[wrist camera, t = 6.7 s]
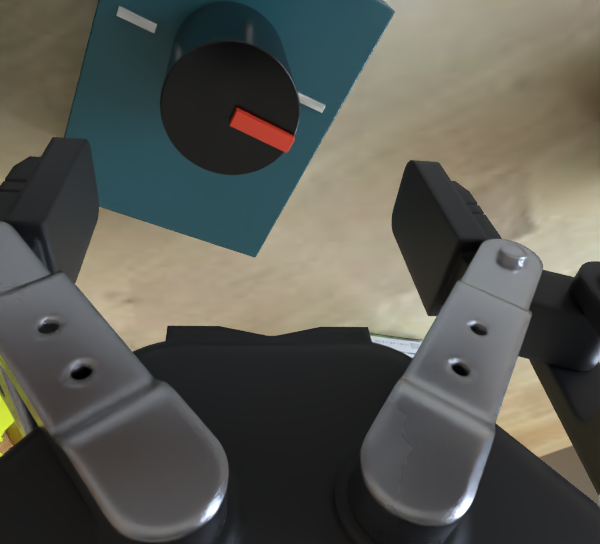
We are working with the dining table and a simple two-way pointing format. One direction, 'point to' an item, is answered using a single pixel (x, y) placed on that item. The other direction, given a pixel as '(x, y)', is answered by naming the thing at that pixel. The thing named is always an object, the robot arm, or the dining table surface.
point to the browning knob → (229, 91)
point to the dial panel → (155, 142)
